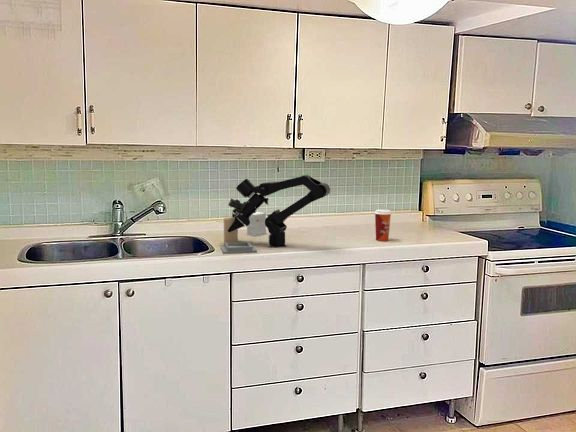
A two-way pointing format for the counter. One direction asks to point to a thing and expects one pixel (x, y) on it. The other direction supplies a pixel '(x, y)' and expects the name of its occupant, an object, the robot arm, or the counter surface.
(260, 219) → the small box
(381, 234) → the paper cup
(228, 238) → the carton
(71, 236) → the counter surface
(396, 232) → the counter surface
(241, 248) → the tray
